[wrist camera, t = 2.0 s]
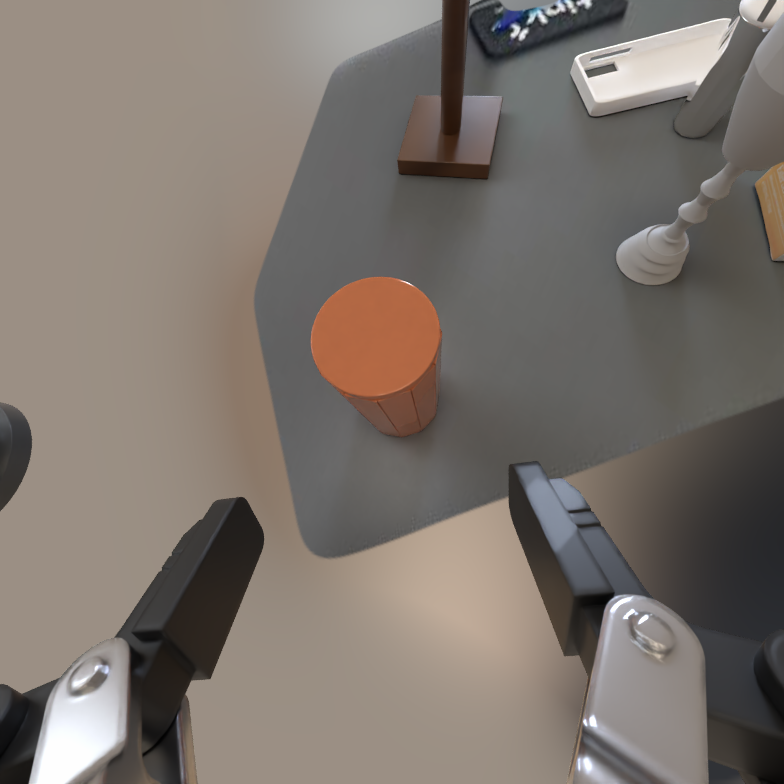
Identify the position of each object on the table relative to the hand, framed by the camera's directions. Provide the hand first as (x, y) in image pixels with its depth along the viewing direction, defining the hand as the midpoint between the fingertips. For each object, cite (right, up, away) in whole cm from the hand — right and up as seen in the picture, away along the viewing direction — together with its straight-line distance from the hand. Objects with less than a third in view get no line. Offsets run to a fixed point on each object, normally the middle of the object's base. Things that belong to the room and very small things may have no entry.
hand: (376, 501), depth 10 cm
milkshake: (+28, +28, +21) cm, 45 cm away
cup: (+1, +3, +17) cm, 17 cm away
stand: (+7, +29, +24) cm, 38 cm away
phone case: (+27, +35, +23) cm, 50 cm away
